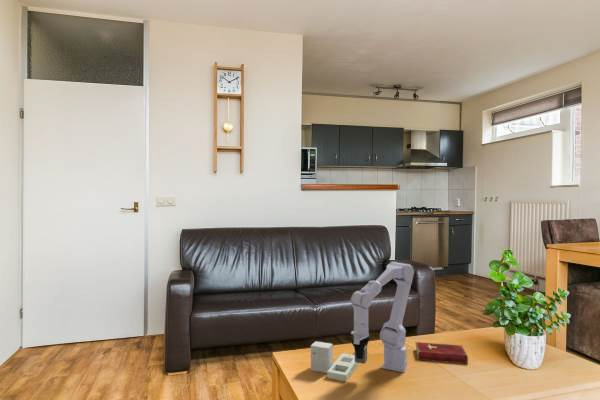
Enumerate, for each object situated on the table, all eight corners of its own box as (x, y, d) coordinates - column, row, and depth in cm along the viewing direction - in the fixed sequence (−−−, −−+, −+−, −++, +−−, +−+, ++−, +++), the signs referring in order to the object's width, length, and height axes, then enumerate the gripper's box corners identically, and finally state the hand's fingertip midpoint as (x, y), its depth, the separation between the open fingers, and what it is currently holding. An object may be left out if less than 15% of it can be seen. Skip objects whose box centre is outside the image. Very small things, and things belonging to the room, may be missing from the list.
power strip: (363, 356, 173) (363, 350, 173) (346, 381, 149) (346, 374, 149) (346, 353, 176) (346, 347, 176) (327, 377, 152) (327, 371, 152)
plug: (367, 359, 153) (367, 344, 153) (364, 363, 149) (364, 348, 149) (357, 358, 154) (357, 343, 154) (354, 362, 151) (354, 346, 151)
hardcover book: (468, 364, 166) (468, 355, 166) (417, 360, 170) (417, 350, 170) (462, 353, 177) (462, 344, 177) (415, 350, 182) (415, 341, 182)
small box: (333, 368, 160) (333, 343, 160) (328, 374, 155) (328, 348, 155) (315, 365, 164) (315, 340, 164) (310, 370, 159) (310, 345, 159)
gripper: (356, 315, 160) (356, 348, 160) (346, 326, 147) (346, 361, 147) (372, 317, 157) (372, 350, 157) (364, 328, 144) (364, 364, 144)
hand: (361, 356), depth 152 cm, fingers closed on plug, 4 cm apart
